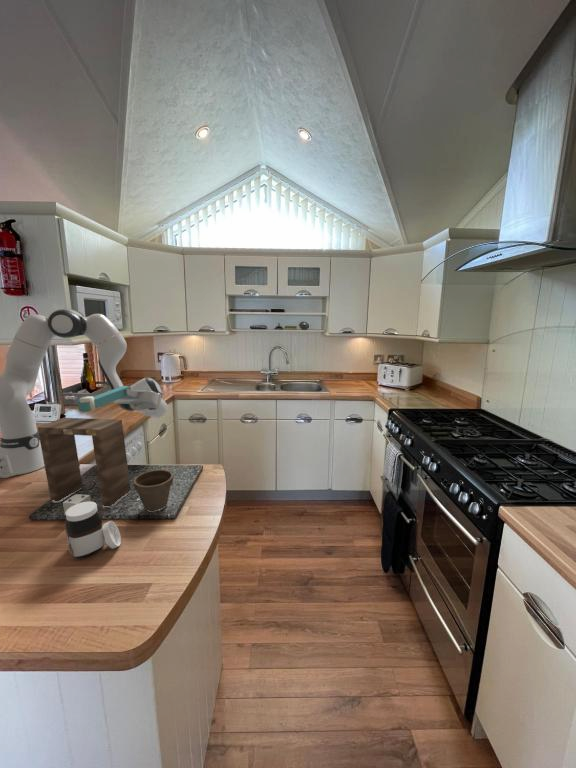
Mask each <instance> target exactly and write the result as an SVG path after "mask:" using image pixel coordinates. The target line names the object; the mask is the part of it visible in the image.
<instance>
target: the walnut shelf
mask: <svg viewBox="0 0 576 768" xmlns="http://www.w3.org/2000/svg"><path fill="white" fill-rule="evenodd" d="M37 431H38V432H39V438H40V440H39V441H40V443H41V449H42V454H43V460H44V465H45V466H44V471H45V476H46V480H47V482H46V483H47V487H48V491H49V498H50V502H51V501H52V500H55V501H59V500H61V499H62V498H64V497H66V496H68V495H69V494H71V493H73V492H75V491H77V490H79V489H80V488H82V487H83V479H82V475H81V466H79V464H80V461H79V456H78V455H79V453H78V449H77V443H76V438H75V437H76V436H89V437H90V436H91V439H92V440H91V441H92V447H93V452H94V458H95V459H94V460H95V465H96V471H97V479H98V487H99V492H100V500H101V505H104V506H111V505H112V504H114V503H115V502H116V501H117V500H118V499H120V498H121V497H122V496H124V495H125V494H126V493H128V492H129V491H130V490H131V491H132V489H131V487H132V486H131V482H130V481H131V480H130V474H129V473H130V472H129V466H128V465H129V464H128V457H127V449H126V443H125V435H124V427H123V419H115V418H114V419H112V418H111V419H110V418H109V419H108V418H86V417H85V418H84V417H83V418H82V417H62V418H59V419H57V420H56V419H55V420H54V421H51V422H48V423H46V424H42V425H40V426H38V427H37ZM83 488H84V487H83Z"/></svg>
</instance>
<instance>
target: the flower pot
mask: <svg viewBox="0 0 576 768" xmlns="http://www.w3.org/2000/svg"><path fill="white" fill-rule="evenodd" d="M173 483H174V475H173V472H171V471H170V470H165V469H155V470H148V471H145V472H143V473H141V474H139V475H136V477H135V478H134V479H133V489H134V490H135V492H137V493H138V496H139V498H140V501H141V503H142V506H143V508H144V509H146V510H149V511H155V510H158V509H161V508H163V507H164V506H166V507H167V505H168V501H169V495H170V490H171V486H172V485H173ZM166 504H167V505H166ZM146 510H145V511H146Z"/></svg>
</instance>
